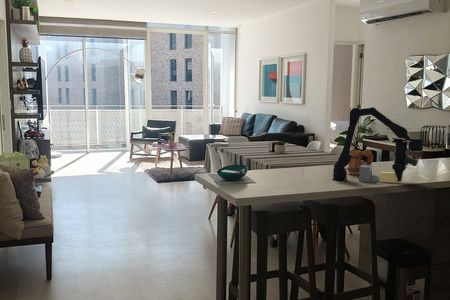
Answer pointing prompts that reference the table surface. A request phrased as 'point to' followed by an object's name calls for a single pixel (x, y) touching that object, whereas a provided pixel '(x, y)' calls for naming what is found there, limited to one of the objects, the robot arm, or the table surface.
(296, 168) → the table surface
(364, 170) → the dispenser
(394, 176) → the pale yellow flat block
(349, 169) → the mug
